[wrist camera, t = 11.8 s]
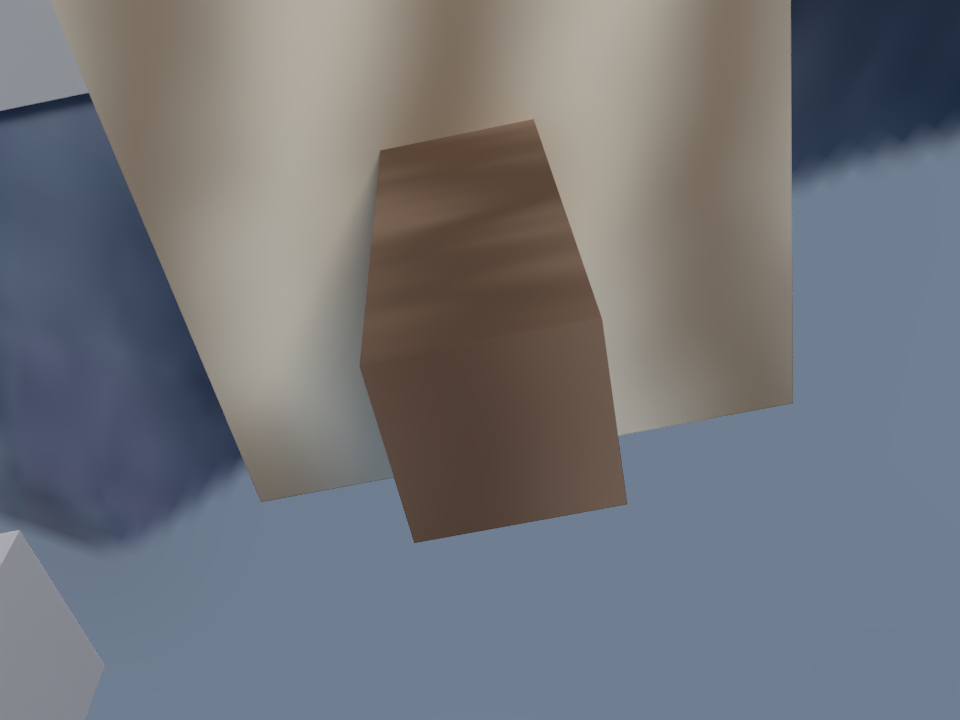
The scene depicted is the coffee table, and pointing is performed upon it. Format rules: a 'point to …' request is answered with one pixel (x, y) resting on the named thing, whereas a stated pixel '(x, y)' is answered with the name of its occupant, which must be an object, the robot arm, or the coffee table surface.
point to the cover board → (428, 66)
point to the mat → (34, 56)
